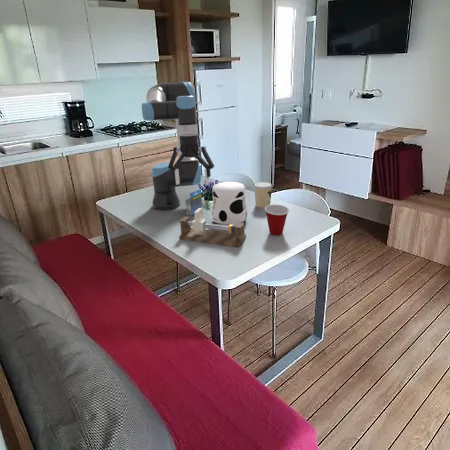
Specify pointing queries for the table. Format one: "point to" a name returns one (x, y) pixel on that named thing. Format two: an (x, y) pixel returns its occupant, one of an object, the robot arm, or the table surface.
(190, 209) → the label tape box
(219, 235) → the wooden rail holder
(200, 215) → the cream stepped block
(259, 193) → the coffee cup
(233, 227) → the metal rail
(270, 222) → the plastic cup
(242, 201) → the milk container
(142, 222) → the table surface
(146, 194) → the table surface
